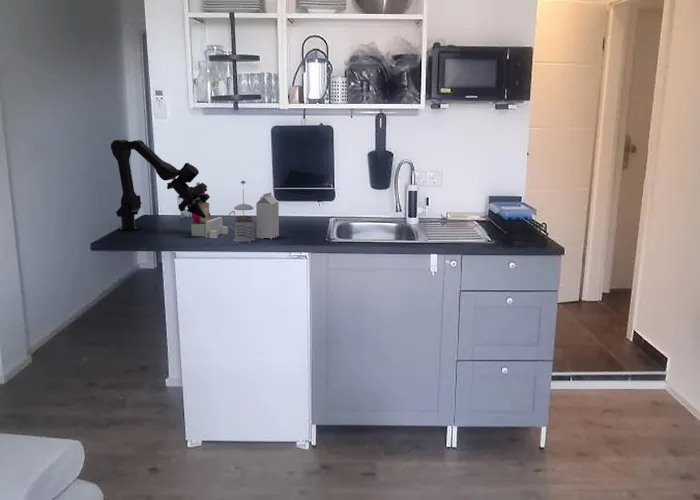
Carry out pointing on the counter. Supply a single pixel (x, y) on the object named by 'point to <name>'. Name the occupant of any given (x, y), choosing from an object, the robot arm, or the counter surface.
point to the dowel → (205, 209)
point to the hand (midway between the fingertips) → (207, 216)
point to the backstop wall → (215, 228)
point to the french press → (247, 223)
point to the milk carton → (267, 217)
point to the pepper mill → (195, 217)
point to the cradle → (198, 229)
